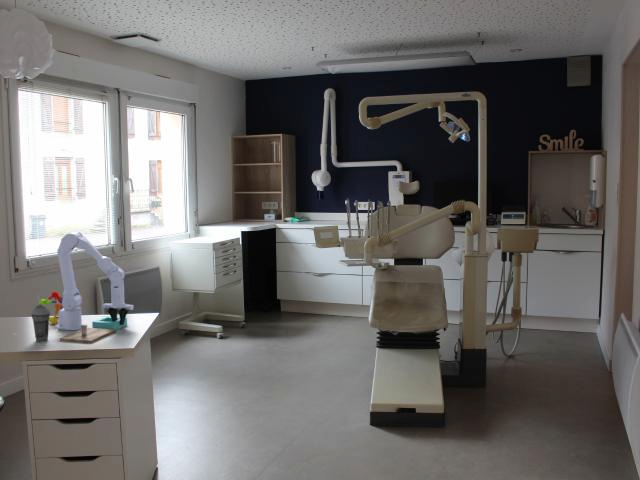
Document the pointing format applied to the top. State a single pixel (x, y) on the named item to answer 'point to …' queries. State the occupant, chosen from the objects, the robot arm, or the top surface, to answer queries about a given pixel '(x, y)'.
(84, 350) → the top surface
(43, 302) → the educational toy
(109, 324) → the loop
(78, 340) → the peg board
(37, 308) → the beverage cup
